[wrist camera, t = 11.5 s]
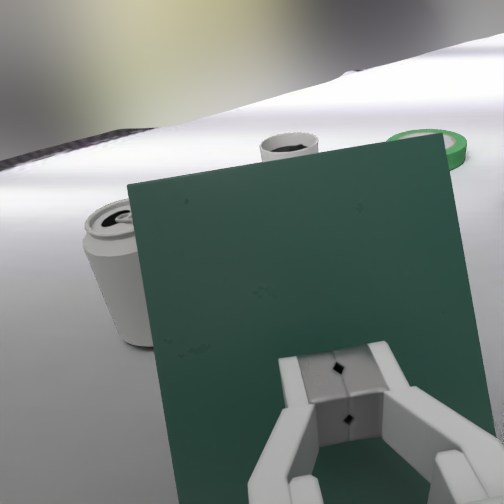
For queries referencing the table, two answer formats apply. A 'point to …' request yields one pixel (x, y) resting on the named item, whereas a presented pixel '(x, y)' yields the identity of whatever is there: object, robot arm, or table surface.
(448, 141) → the tape roll
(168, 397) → the tin lid
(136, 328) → the can
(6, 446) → the table surface
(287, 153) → the white cup
